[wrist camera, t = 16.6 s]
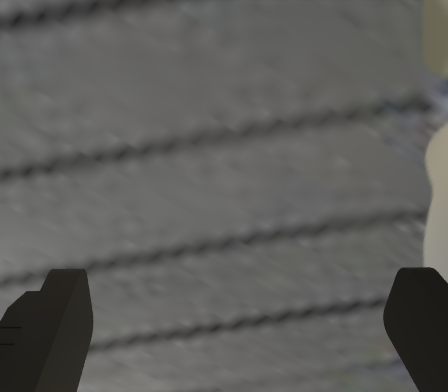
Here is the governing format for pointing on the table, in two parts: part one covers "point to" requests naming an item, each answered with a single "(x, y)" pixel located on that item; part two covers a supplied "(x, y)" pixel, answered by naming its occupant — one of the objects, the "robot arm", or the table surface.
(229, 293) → the table surface
